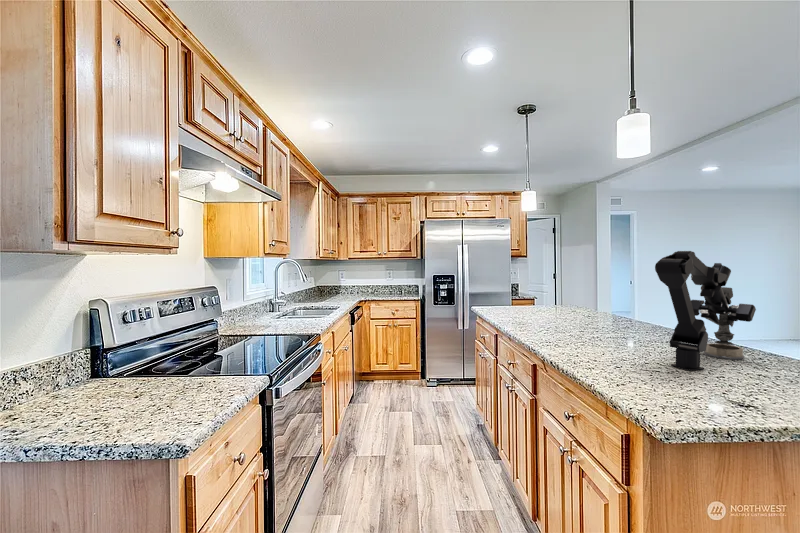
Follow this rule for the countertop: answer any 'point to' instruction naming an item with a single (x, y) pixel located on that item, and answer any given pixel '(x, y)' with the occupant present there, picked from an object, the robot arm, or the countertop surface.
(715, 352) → the ring holder
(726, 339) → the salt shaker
